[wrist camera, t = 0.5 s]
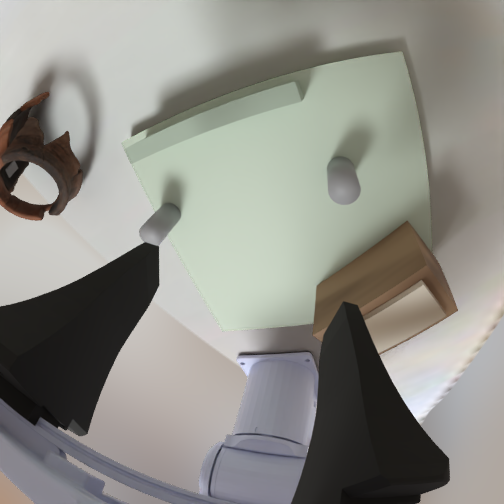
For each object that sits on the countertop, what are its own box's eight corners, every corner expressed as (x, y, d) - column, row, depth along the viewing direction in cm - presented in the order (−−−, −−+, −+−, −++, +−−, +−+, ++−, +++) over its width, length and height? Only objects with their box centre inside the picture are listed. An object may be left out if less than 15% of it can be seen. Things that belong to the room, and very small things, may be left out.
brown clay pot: (70, 64, 16) (26, 118, 12) (119, 144, 24) (102, 211, 20) (-15, 129, 17) (-53, 191, 13) (34, 186, 25) (12, 249, 21)
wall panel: (426, 295, 21) (437, 334, 17) (225, 321, 27) (212, 357, 24) (396, 52, 12) (419, 48, 9) (130, 137, 18) (94, 157, 15)
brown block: (439, 263, 18) (459, 315, 14) (353, 318, 22) (355, 371, 18) (407, 220, 16) (428, 269, 12) (316, 285, 21) (311, 340, 17)
